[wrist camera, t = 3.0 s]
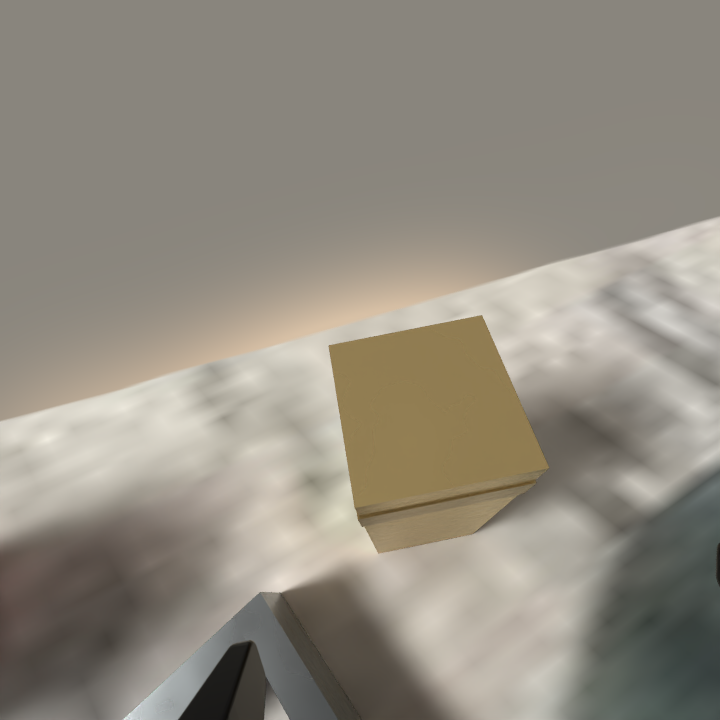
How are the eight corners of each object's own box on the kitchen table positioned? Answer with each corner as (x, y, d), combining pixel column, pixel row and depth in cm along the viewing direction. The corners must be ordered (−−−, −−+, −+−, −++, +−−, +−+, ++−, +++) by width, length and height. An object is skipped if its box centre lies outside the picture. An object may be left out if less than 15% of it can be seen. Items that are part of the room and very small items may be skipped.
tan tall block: (473, 535, 18) (552, 469, 9) (377, 555, 18) (352, 510, 9) (445, 442, 20) (483, 313, 11) (360, 459, 20) (326, 344, 11)
